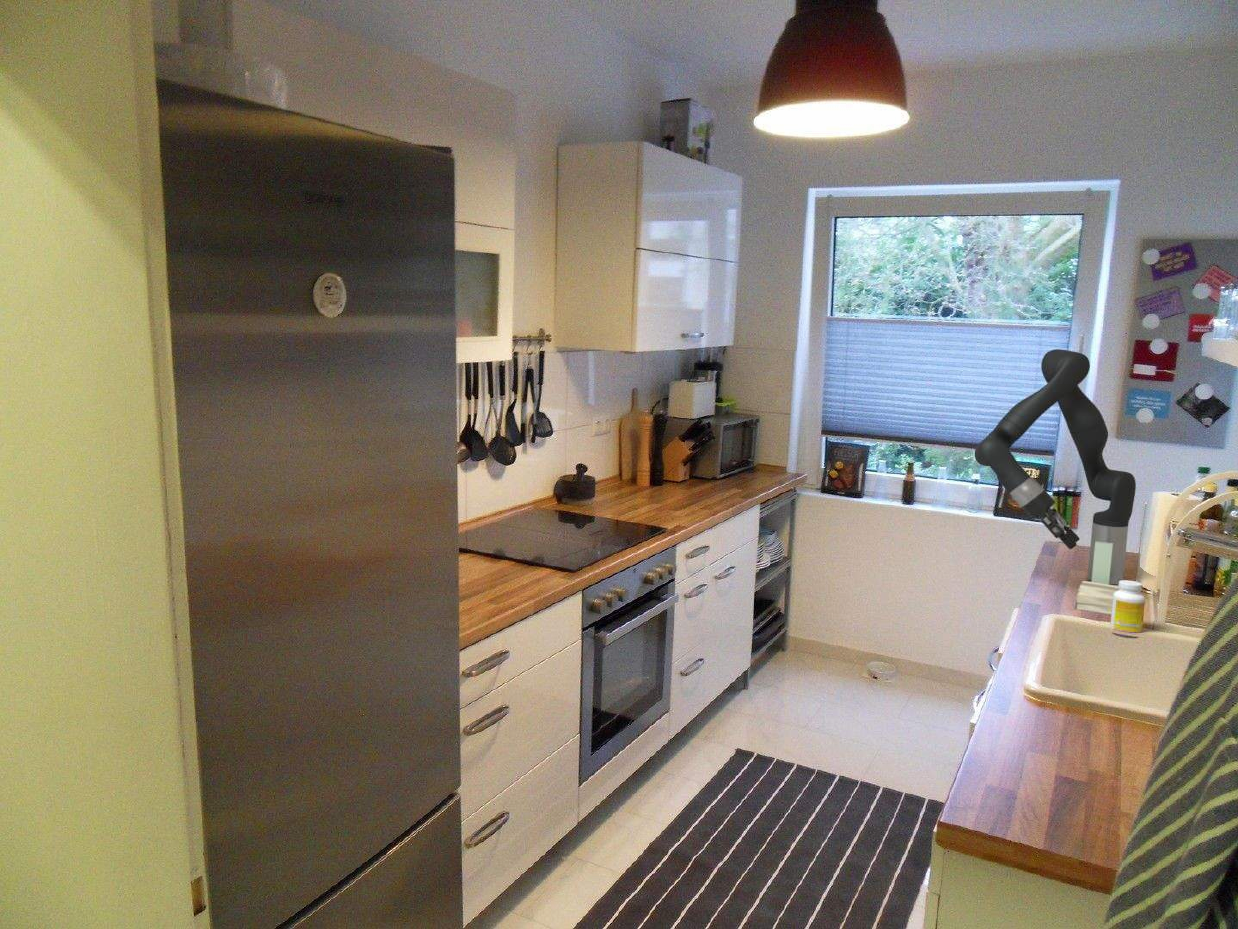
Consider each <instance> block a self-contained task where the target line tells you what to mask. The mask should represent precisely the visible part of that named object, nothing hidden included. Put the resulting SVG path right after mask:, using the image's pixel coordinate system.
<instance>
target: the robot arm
mask: <svg viewBox="0 0 1238 929" xmlns="http://www.w3.org/2000/svg"><path fill="white" fill-rule="evenodd" d="M1040 366H1041V372H1042V376H1043V378H1044V380H1045V381H1046V384H1045V385H1044V386H1042V387H1041V388H1040V389H1038V390H1037V391H1036V392H1033V393H1032V394H1030V395H1029V396H1027V397H1025V398H1024V399H1021V400H1020V401H1019V402H1017V404H1014V405H1013V406H1012V407H1011V409H1009V410H1008V411H1007V413H1006V414H1005V415H1004V416H1003V417H1002V418H1001V419H1000V421H998V423H997V425H996V426H995V428H994V429H993V430H992V431H991V432H990V433H988V435H987V436H986V437H985V438H984V439H983V440H981V441H980V442H979V444H978V445H977V446H976V448H974V459H975V461H976V462H977V463H978V464H979V465H981V466H984V467H990V468H991V469H992V471H993V472H994V473H995V474H996V477H997V481H998V482H999V483H1000V484H1001V486H1003V488H1005V490H1006V491H1007V492H1008V493H1009V494H1010V495H1011V497H1012V498H1013V500H1014V501H1015V503H1017V504H1018V505H1019V507H1020V508H1021V509H1022V510H1023V511H1024V512H1025V513H1026V514H1027V515H1028V516H1029V517H1030V518H1031V519H1033V520H1035V519H1036V518H1038V517H1040V518H1041V519H1040V522H1041V523H1042V525H1044V527H1045V528H1047V530H1048V531H1049V532H1050V533H1051V534H1052V535H1053V536H1054V538H1056V539H1058V540H1060V541H1061V542H1062V543H1063V544H1064V545H1065V546H1066V547H1067V548H1068V550H1072V549H1074V548H1075V547H1076V546H1077V545H1078V542H1079V541H1080V537H1079V536H1078V534H1076V532H1074V530H1073V529H1072V528H1071V526H1070V523H1069V522H1068V521H1067V520H1066V519H1065V518H1064V517H1063V516H1062V515H1061V514H1060V513H1059V512H1058V511H1057V509H1056V508H1054V507H1053V506H1054V505H1055V504H1056V500H1055V499H1053V497H1052V496H1051V495H1050V494H1049V493H1048V492H1047V491H1046V490H1045V489H1044V487H1043V486H1042V485H1041V484H1040V483H1039V482H1038V481H1036V480H1035V479H1034V478H1033V477H1031V475H1030V474H1029V473H1028V472H1027V470H1025V469H1024V468H1023V466H1021V465H1020V464H1019V463H1018V461H1017V460H1016V458H1015V456H1014V455H1013V454H1012V452H1011V451H1010V448H1011V447H1012V446H1013V445H1014V444H1015V443H1016V442H1017V441H1018V440H1020V438H1022V436H1024V434H1025V433H1026V432H1028V430H1029V429H1030V428H1031V426H1032V425H1034V423H1036V421H1037V420H1038V419H1039V418H1040V417H1042V415H1044V413H1046V412H1047V411H1048V410H1049V409H1051V407H1053V405H1055V404H1056V403H1057V404H1058V407H1059V409H1060V411H1061V413H1062V416H1063V418H1064V420H1065V424H1066V426H1067V429H1068V431H1069V433H1070V436H1071V438H1072V440H1073V443H1074V445H1075V447H1076V450H1077V452H1078V455H1079V458H1080V461H1081V464H1082V467H1083V471H1084V474H1085V478H1086V482H1087V485H1088V489H1089V490H1090V493H1091V495H1092V496H1094V497H1095V498H1096V499H1099V500H1102V501H1108V502H1109V506H1108V508H1107V509H1105V510H1103V511H1097V512H1095V513H1093V515H1092V523H1091V524H1092V525H1091V536H1090V537H1091V538H1090V546H1089V556H1088V557H1089V559H1088V568H1087V570H1088V571H1087V577H1086V579H1087V580H1089V581H1090V582H1092V572H1093V561H1094V551H1095V542H1104V543H1113V549H1112V559H1111V569H1110V580H1109V585H1118V580H1124V572H1125V562H1126V554H1127V542H1128V535H1129V534H1128V532H1129V524H1130V519H1131V516H1132V514H1133V508H1134V501H1135V497H1136V496H1135V495H1136V491H1137V490H1136V489H1137V487H1136V486H1137V483H1136V479H1135V478H1136V477H1135V476H1134V475H1133V474H1132V473H1130V472H1127V471H1123V470H1115V469H1110V468H1109V467H1108V466H1107V464H1106V462H1105V458H1104V456H1103V452H1104V449H1105V448H1106V445H1107V441H1108V438H1109V431H1108V428H1107V425H1106V421H1105V420H1104V417H1103V415H1102V413H1101V412H1100V410H1099V409H1098V407H1097V406H1096V404H1094V403H1093V401H1092V400H1091V399H1089V397H1088V396H1087V395H1086V394H1085V393H1084V392H1083V391H1082V389H1081V388H1080V386H1079V384H1081V383H1082V382H1083V381H1084V380H1085V379H1086V377H1087V376H1088V374H1089V372H1090V368H1091V367H1090V366H1091V362H1090V360H1089V358H1088V357H1087V355H1085V354H1084V353H1082V352H1077V351H1073V350H1067V349H1059V348H1057V349H1051V350H1049V351H1047V352H1046V353H1045V354H1044V355H1043V357H1042V359H1041V365H1040ZM1052 507H1053V508H1052Z"/></svg>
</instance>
